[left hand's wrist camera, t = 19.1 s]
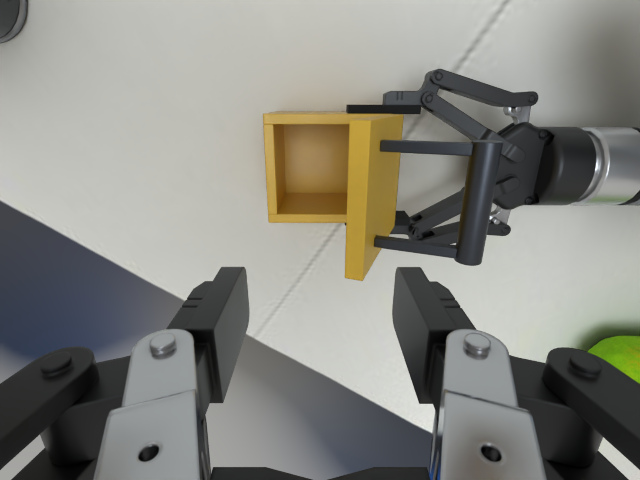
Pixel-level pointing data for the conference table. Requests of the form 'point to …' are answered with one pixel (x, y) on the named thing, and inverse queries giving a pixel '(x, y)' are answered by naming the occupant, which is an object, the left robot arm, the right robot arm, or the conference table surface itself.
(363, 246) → the lid
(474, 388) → the left robot arm
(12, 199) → the conference table surface
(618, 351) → the decorative tree
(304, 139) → the chest
